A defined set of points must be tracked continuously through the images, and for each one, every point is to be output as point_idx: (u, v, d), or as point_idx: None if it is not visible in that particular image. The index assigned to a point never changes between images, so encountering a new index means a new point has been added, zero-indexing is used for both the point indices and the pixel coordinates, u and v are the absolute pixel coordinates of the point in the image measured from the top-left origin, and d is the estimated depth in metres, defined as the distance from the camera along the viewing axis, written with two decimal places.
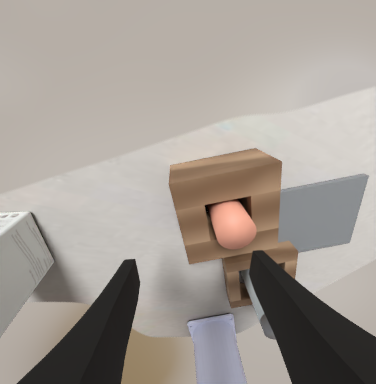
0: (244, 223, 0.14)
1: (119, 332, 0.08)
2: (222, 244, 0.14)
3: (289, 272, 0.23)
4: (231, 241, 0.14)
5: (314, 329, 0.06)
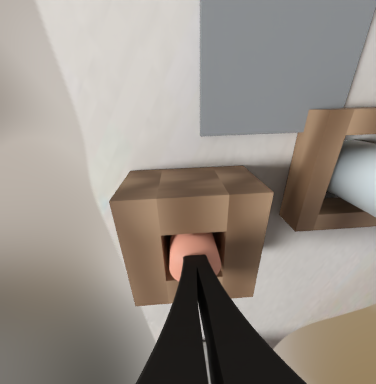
0: (180, 260, 0.11)
1: None
2: None
3: None
4: None
5: (214, 338, 0.06)
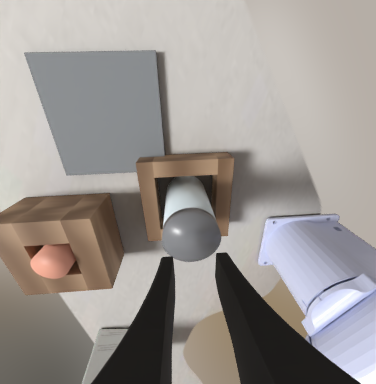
0: (36, 262, 0.16)
1: (169, 328, 0.08)
2: (63, 275, 0.17)
3: (175, 169, 0.16)
4: (59, 269, 0.17)
5: (251, 335, 0.06)
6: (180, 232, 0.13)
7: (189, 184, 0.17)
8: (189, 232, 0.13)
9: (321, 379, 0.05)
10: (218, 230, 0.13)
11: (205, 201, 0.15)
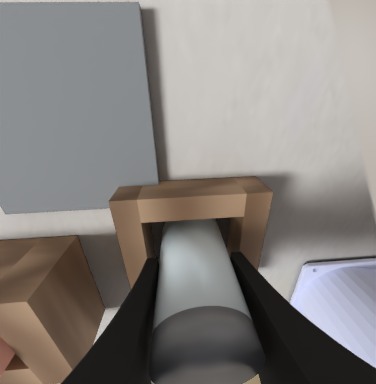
0: None
1: (149, 329, 0.08)
2: None
3: (176, 211, 0.10)
4: None
5: (277, 332, 0.06)
6: (185, 361, 0.06)
7: (198, 231, 0.11)
8: (203, 360, 0.06)
9: (353, 376, 0.05)
10: (261, 354, 0.06)
11: (228, 273, 0.08)
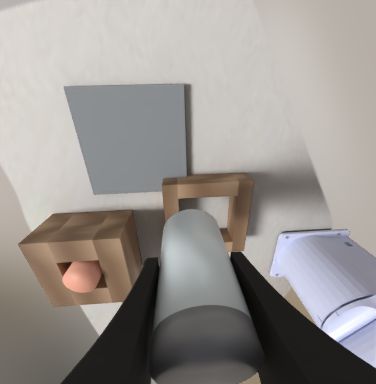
0: (68, 277, 0.17)
1: (149, 329, 0.08)
2: (91, 289, 0.18)
3: (198, 191, 0.17)
4: (88, 284, 0.18)
5: (277, 332, 0.06)
6: (185, 359, 0.06)
7: (197, 231, 0.11)
8: (203, 358, 0.06)
9: (353, 376, 0.05)
10: (260, 352, 0.07)
11: (227, 272, 0.09)
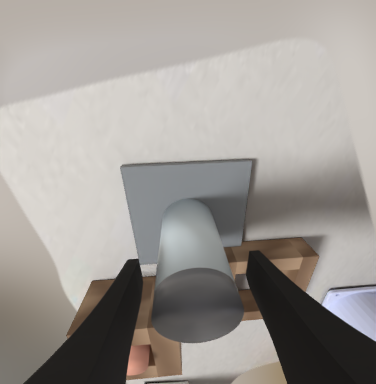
0: None
1: (124, 332, 0.08)
2: (140, 372, 0.16)
3: None
4: (138, 369, 0.16)
5: (308, 329, 0.06)
6: (179, 310, 0.08)
7: (191, 216, 0.12)
8: (194, 309, 0.08)
9: None
10: (239, 303, 0.08)
11: (215, 246, 0.10)
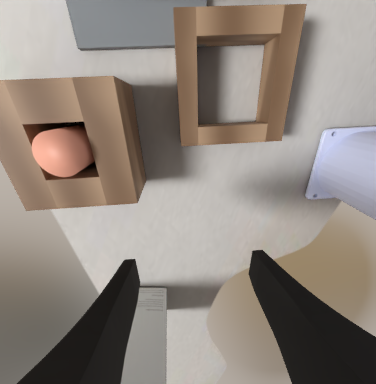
0: (40, 145, 0.12)
1: (119, 332, 0.08)
2: (75, 171, 0.13)
3: (226, 22, 0.12)
4: (70, 161, 0.12)
5: (314, 329, 0.06)
6: None
7: None
8: None
9: None
10: None
11: None
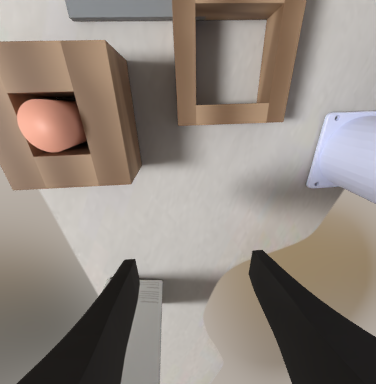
0: (26, 116, 0.11)
1: (119, 332, 0.08)
2: (64, 146, 0.12)
3: None
4: (59, 134, 0.12)
5: (314, 329, 0.06)
6: None
7: None
8: None
9: None
10: None
11: None
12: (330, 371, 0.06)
